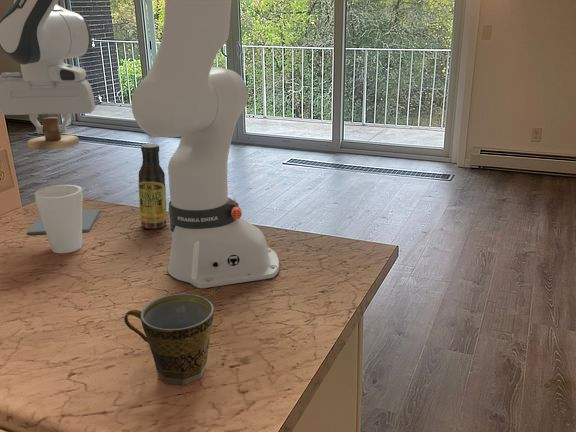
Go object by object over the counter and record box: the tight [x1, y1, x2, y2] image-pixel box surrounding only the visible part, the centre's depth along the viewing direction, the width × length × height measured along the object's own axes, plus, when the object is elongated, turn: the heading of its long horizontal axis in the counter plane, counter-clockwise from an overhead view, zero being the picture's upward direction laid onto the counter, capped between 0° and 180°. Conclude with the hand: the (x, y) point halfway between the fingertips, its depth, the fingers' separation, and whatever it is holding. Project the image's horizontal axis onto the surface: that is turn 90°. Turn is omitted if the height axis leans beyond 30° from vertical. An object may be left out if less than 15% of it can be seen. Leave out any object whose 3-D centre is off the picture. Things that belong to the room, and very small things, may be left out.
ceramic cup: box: [123, 293, 215, 386], centre depth 79 cm, size 13×10×10 cm
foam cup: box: [34, 184, 84, 254], centre depth 120 cm, size 10×9×13 cm
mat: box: [26, 208, 101, 235], centre depth 136 cm, size 14×14×1 cm
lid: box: [27, 116, 80, 151], centre depth 129 cm, size 11×11×6 cm
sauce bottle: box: [137, 143, 168, 230], centre depth 131 cm, size 7×6×20 cm
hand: (52, 133), depth 129 cm, fingers closed on lid, 3 cm apart
